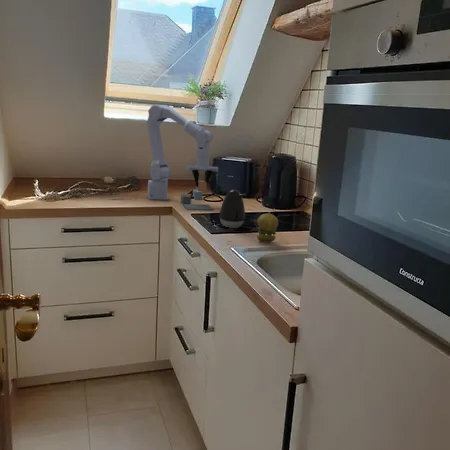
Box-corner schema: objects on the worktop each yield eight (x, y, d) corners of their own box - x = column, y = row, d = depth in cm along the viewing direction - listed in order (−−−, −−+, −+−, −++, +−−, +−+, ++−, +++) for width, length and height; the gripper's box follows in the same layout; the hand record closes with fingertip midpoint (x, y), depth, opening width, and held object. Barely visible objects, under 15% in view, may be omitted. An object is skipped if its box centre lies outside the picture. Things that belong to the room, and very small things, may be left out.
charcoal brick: (183, 204, 226) (183, 196, 225) (180, 202, 231) (181, 193, 230) (190, 205, 227) (191, 196, 226) (188, 202, 232) (188, 193, 231)
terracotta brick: (198, 191, 222) (199, 182, 221) (195, 188, 227) (196, 180, 226) (206, 191, 223) (206, 182, 222) (203, 188, 228) (203, 180, 227)
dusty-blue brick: (194, 199, 238) (195, 191, 237) (192, 197, 244) (193, 189, 242) (202, 200, 239) (202, 192, 238) (199, 197, 244) (200, 189, 243)
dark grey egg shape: (236, 232, 187) (239, 193, 183) (213, 226, 192) (216, 189, 188) (249, 227, 195) (252, 190, 191) (227, 222, 201) (230, 186, 197)
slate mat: (186, 210, 216) (186, 208, 216) (183, 205, 224) (183, 204, 224) (212, 210, 219) (213, 208, 219) (208, 205, 227) (208, 204, 227)
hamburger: (274, 240, 180) (277, 208, 177) (278, 246, 173) (281, 213, 170) (253, 239, 179) (256, 207, 176) (257, 245, 172) (260, 212, 169)
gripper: (189, 157, 215) (187, 187, 219) (220, 159, 219) (218, 188, 223) (186, 155, 222) (184, 184, 225) (216, 156, 226) (214, 185, 229)
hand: (201, 186), depth 224 cm, fingers closed on terracotta brick, 4 cm apart
